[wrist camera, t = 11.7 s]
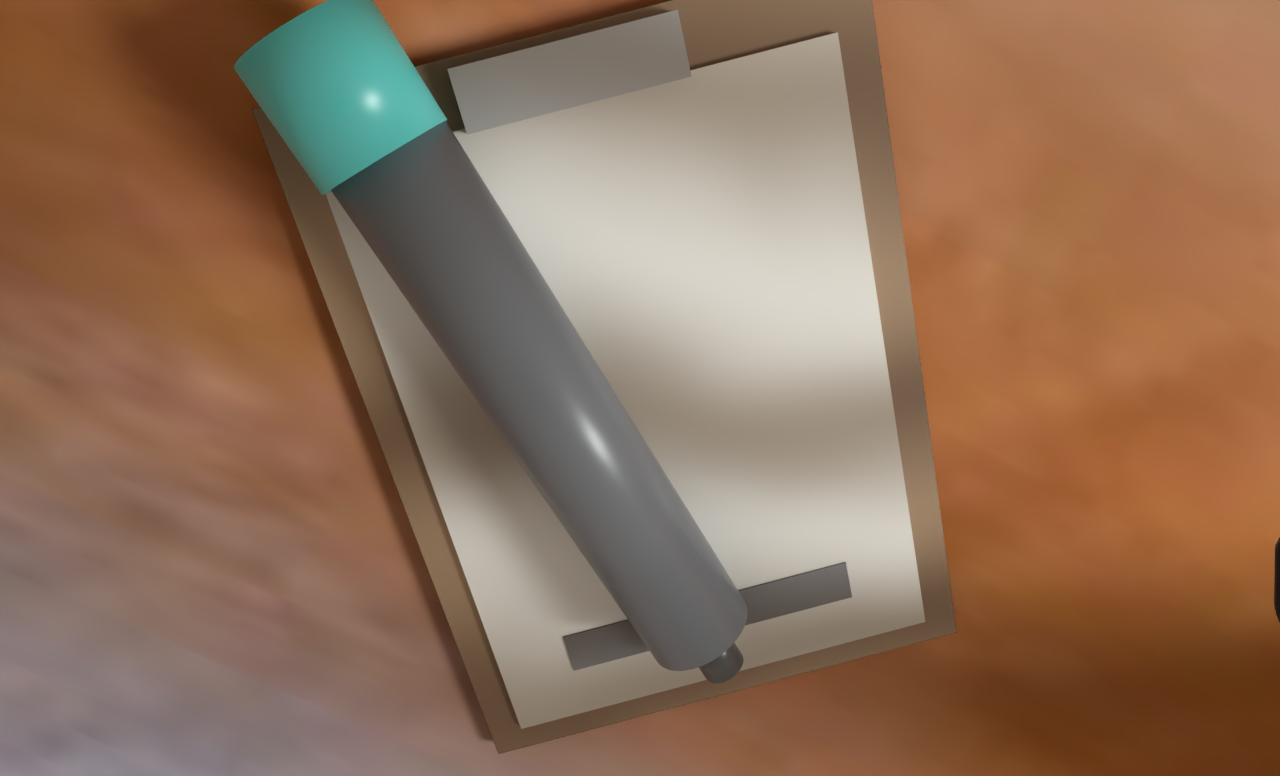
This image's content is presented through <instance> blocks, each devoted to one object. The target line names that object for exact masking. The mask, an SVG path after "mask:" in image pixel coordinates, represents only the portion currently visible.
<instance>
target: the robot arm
mask: <svg viewBox="0 0 1280 776" xmlns="http://www.w3.org/2000/svg"><path fill="white" fill-rule="evenodd" d="M1274 605H1275V610H1276V614H1277V617H1278V620H1279V622H1280V538H1279V539H1278V541H1277V543H1276V546H1275V587H1274Z"/></svg>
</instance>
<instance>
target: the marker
mask: <svg viewBox="0 0 1280 776" xmlns="http://www.w3.org/2000/svg"><path fill="white" fill-rule="evenodd" d="M234 70H235V71H236V73H237V74H238V76H239V77H240V78H241V80H242V81H243V83H244V84H245V86H246V87H247V88H248V90H249V91H250V93H251V94H252V96H253V97H254V98H255V100H256V101H257V103H258V104H259V106H260V107H261V108H262V110H263V111H264V113H265V114H266V116H267V117H268V119H269V120H270V121H271V123H272V124H273V126H274V127H275V129H276V130H277V131H278V133H279V134H280V136H281V137H282V139H283V140H284V141H285V143H286V144H287V146H288V147H289V149H290V150H291V152H292V153H293V154H294V156H295V157H296V159H297V160H298V162H299V163H300V164H301V166H302V167H303V169H304V170H305V172H306V173H307V174H308V176H309V177H310V179H311V180H312V182H313V183H314V185H315V186H316V187H317V189H318V190H319V192H320V193H321V195H324V194H326V193H328V192H330V191H332V193H333V194H334V196H335V197H336V198H337V200H338V201H339V203H340V204H341V206H342V207H343V209H344V210H345V211H346V213H347V214H348V216H349V217H350V219H351V220H352V222H353V223H354V224H355V226H356V227H357V229H358V230H359V232H360V233H361V235H362V236H363V237H364V239H365V240H366V242H367V243H368V245H369V246H370V248H371V249H372V250H373V252H374V253H375V255H376V256H377V258H378V259H379V261H380V262H381V263H382V265H383V266H384V268H385V269H386V271H387V272H388V274H389V275H390V276H391V278H392V279H393V281H394V282H395V284H396V285H397V287H398V288H399V289H400V291H401V292H402V294H403V295H404V297H405V298H406V300H407V301H408V302H409V304H410V305H411V307H412V308H413V310H414V311H415V313H416V314H417V315H418V317H419V318H420V320H421V321H422V323H423V324H424V326H425V327H426V328H427V330H428V331H429V333H430V334H431V336H432V337H433V339H434V340H435V341H436V343H437V344H438V346H439V347H440V349H441V350H442V352H443V353H444V354H445V356H446V357H447V359H448V360H449V362H450V363H451V365H452V366H453V368H454V369H455V370H456V372H457V373H458V375H459V376H460V378H461V379H462V381H463V382H464V383H465V385H466V386H467V388H468V389H469V391H470V392H471V394H472V395H473V396H474V398H475V399H476V401H477V402H478V404H479V405H480V407H481V408H482V409H483V411H484V412H485V414H486V415H487V417H488V418H489V420H490V421H491V422H492V424H493V425H494V427H495V428H496V430H497V431H498V433H499V434H500V435H501V437H502V438H503V440H504V441H505V443H506V444H507V446H508V447H509V448H510V450H511V451H512V453H513V454H514V456H515V457H516V459H517V460H518V461H519V463H520V464H521V466H522V467H523V469H524V470H525V472H526V473H527V474H528V476H529V477H530V479H531V480H532V482H533V483H534V485H535V486H536V487H537V489H538V490H539V492H540V493H541V495H542V496H543V498H544V499H545V500H546V502H547V503H548V505H549V506H550V508H551V509H552V511H553V512H554V513H555V515H556V516H557V518H558V519H559V521H560V522H561V524H562V525H563V527H564V528H565V529H566V531H567V532H568V534H569V535H570V537H571V538H572V540H573V541H574V542H575V544H576V545H577V547H578V548H579V550H580V551H581V553H582V554H583V555H584V557H585V558H586V560H587V561H588V563H589V564H590V566H591V567H592V568H593V570H594V571H595V573H596V574H597V576H598V577H599V579H600V580H601V581H602V583H603V584H604V586H605V587H606V589H607V590H608V592H609V593H610V594H611V596H612V597H613V599H614V600H615V602H616V603H617V605H618V606H619V607H620V609H621V610H622V612H623V613H624V615H625V616H626V618H627V619H628V620H629V622H630V623H631V625H632V626H633V628H634V629H635V631H636V632H637V633H638V635H639V636H640V638H641V639H642V641H643V642H644V644H645V645H646V646H647V648H648V649H649V651H650V652H651V654H652V655H653V657H654V658H655V659H656V661H657V662H658V664H659V665H661V666H662V667H663V668H665V669H668V670H672V671H686V670H691V669H695V668H698V667H699V669H700V670H701V672H702V673H703V675H704V676H705V678H706V679H707V680H708V681H709V682H711V683H723V682H725V681H728V680H730V679H731V678H733V677H734V676H735V675H736V674H737V673H738V672H739V670H740V669H741V667H742V665H743V661H744V659H743V655H742V653H741V652H740V650H739V649H738V647H737V645H736V644H735V641H736V640H737V638H738V637H739V636H740V634H741V632H742V631H743V629H744V626H745V624H746V621H747V615H748V610H747V605H746V602H745V601H744V599H743V598H742V596H741V594H740V593H739V591H738V590H737V588H736V586H735V585H734V583H733V582H732V580H731V578H730V577H729V575H728V573H727V572H726V570H725V569H724V567H723V565H722V564H721V562H720V561H719V559H718V557H717V556H716V554H715V553H714V551H713V549H712V548H711V546H710V545H709V543H708V541H707V540H706V538H705V537H704V535H703V533H702V532H701V530H700V528H699V527H698V525H697V524H696V522H695V520H694V519H693V517H692V516H691V514H690V512H689V511H688V509H687V508H686V506H685V504H684V503H683V501H682V500H681V498H680V496H679V495H678V493H677V492H676V490H675V488H674V487H673V485H672V483H671V482H670V480H669V479H668V477H667V475H666V474H665V472H664V471H663V469H662V467H661V466H660V464H659V463H658V461H657V459H656V458H655V456H654V455H653V453H652V451H651V450H650V448H649V447H648V445H647V443H646V442H645V440H644V438H643V437H642V435H641V434H640V432H639V430H638V429H637V427H636V426H635V424H634V422H633V421H632V419H631V418H630V416H629V414H628V413H627V411H626V410H625V408H624V406H623V405H622V403H621V402H620V400H619V398H618V397H617V395H616V393H615V392H614V390H613V389H612V387H611V385H610V384H609V382H608V381H607V379H606V377H605V376H604V374H603V373H602V371H601V369H600V368H599V366H598V365H597V363H596V361H595V360H594V358H593V357H592V355H591V353H590V352H589V350H588V348H587V347H586V345H585V344H584V342H583V340H582V339H581V337H580V336H579V334H578V332H577V331H576V329H575V328H574V326H573V324H572V323H571V321H570V320H569V318H568V316H567V315H566V313H565V312H564V310H563V308H562V307H561V305H560V303H559V302H558V300H557V299H556V297H555V295H554V294H553V292H552V291H551V289H550V287H549V286H548V284H547V283H546V281H545V279H544V278H543V276H542V275H541V273H540V271H539V270H538V268H537V267H536V265H535V263H534V262H533V260H532V258H531V257H530V255H529V254H528V252H527V250H526V249H525V247H524V246H523V244H522V242H521V241H520V239H519V238H518V236H517V234H516V233H515V231H514V230H513V228H512V226H511V225H510V223H509V222H508V220H507V218H506V217H505V215H504V213H503V212H502V210H501V209H500V207H499V205H498V204H497V202H496V201H495V199H494V197H493V196H492V194H491V193H490V191H489V189H488V188H487V186H486V185H485V183H484V181H483V180H482V178H481V177H480V175H479V173H478V172H477V170H476V168H475V167H474V165H473V164H472V162H471V160H470V159H469V157H468V156H467V154H466V152H465V151H464V149H463V148H462V146H461V144H460V143H459V141H458V140H457V138H456V136H455V135H454V133H453V131H452V130H451V128H450V127H449V125H448V123H447V122H446V120H447V118H446V117H445V115H444V113H443V112H442V110H441V109H440V107H439V105H438V104H437V102H436V101H435V99H434V97H433V96H432V94H431V93H430V91H429V89H428V88H427V86H426V85H425V83H424V81H423V80H422V78H421V76H420V75H419V73H418V72H417V70H416V68H415V67H414V65H413V64H412V62H411V60H410V59H409V57H408V56H407V54H406V52H405V51H404V49H403V47H402V46H401V44H400V43H399V41H398V39H397V38H396V36H395V35H394V33H393V31H392V30H391V28H390V27H389V25H388V23H387V22H386V20H385V19H384V17H383V15H382V14H381V12H380V10H379V9H378V7H377V6H376V4H375V2H374V1H373V0H328V1H326V2H324V3H322V4H320V5H318V6H316V7H314V8H312V9H310V10H308V11H306V12H304V13H302V14H301V15H299V16H297V17H295V18H294V19H292V20H290V21H288V22H287V23H285V24H283V25H282V26H280V27H279V28H277V29H276V30H274V31H273V32H271V33H270V34H268V35H267V36H265V37H264V38H263V39H261V40H260V41H258V42H257V43H256V44H255V45H253V46H252V47H251V48H250V49H248V50H247V51H246V52H245V53H244V54H243V55H242V56H241V57H240V58H239V59H238V60H237V61H236V63H235V65H234Z"/></svg>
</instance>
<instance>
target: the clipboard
mask: <svg viewBox="0 0 1280 776" xmlns="http://www.w3.org/2000/svg"><path fill="white" fill-rule="evenodd" d="M415 68H416V70H417V72H418V73H419V75H420V76H421V78H422V80H423V81H424V83H425V85H426V86H427V88H428V89H429V91H430V93H431V94H432V96H433V97H434V99H435V101H436V102H437V104H438V105H439V107H440V109H441V110H442V112H443V113H444V115H445V117H446V118H447V120H446V122H447V123H448V125H449V127H450V128H451V130H452V131H453V133H454V135H455V136H456V138H457V140H458V141H459V143H460V144H461V146H462V148H463V149H464V151H465V152H466V154H467V156H468V157H469V159H470V160H471V162H472V164H473V165H474V167H475V168H476V170H477V172H478V173H479V175H480V177H481V178H482V180H483V181H484V183H485V185H486V186H487V188H488V189H489V191H490V193H491V194H492V196H493V197H494V199H495V201H496V202H497V204H498V205H499V207H500V209H501V210H502V212H503V213H504V215H505V217H506V218H507V220H508V222H509V223H510V225H511V226H512V228H513V230H514V231H515V233H516V234H517V236H518V238H519V239H520V241H521V242H522V244H523V246H524V247H525V249H526V250H527V252H528V254H529V255H530V257H531V258H532V260H533V262H534V263H535V265H536V267H537V268H538V270H539V271H540V273H541V275H542V276H543V278H544V279H545V281H546V283H547V284H548V286H549V287H550V289H551V291H552V292H553V294H554V295H555V297H556V299H557V300H558V302H559V303H560V305H561V307H562V308H563V310H564V312H565V313H566V315H567V316H568V318H569V320H570V321H571V323H572V324H573V326H574V328H575V329H576V331H577V332H578V334H579V336H580V337H581V339H582V340H583V342H584V344H585V345H586V347H587V348H588V350H589V352H590V353H591V355H592V357H593V358H594V360H595V361H596V363H597V365H598V366H599V368H600V369H601V371H602V373H603V374H604V376H605V377H606V379H607V381H608V382H609V384H610V385H611V387H612V389H613V390H614V392H615V393H616V395H617V397H618V398H619V400H620V402H621V403H622V405H623V406H624V408H625V410H626V411H627V413H628V414H629V416H630V418H631V419H632V421H633V422H634V424H635V426H636V427H637V429H638V430H639V432H640V434H641V435H642V437H643V438H644V440H645V442H646V443H647V445H648V447H649V448H650V450H651V451H652V453H653V455H654V456H655V458H656V459H657V461H658V463H659V464H660V466H661V467H662V469H663V471H664V472H665V474H666V475H667V477H668V479H669V480H670V482H671V483H672V485H673V487H674V488H675V490H676V492H677V493H678V495H679V496H680V498H681V500H682V501H683V503H684V504H685V506H686V508H687V509H688V511H689V512H690V514H691V516H692V517H693V519H694V520H695V522H696V524H697V525H698V527H699V528H700V530H701V532H702V533H703V535H704V537H705V538H706V540H707V541H708V543H709V545H710V546H711V548H712V549H713V551H714V553H715V554H716V556H717V557H718V559H719V561H720V562H721V564H722V565H723V567H724V569H725V570H726V572H727V573H728V575H729V577H730V578H731V580H732V582H733V583H734V585H735V586H736V588H737V590H738V591H739V593H740V594H741V596H742V598H743V599H744V601H745V602H746V605H747V610H748V615H747V621H746V624H745V626H744V629H743V631H742V632H741V634H740V636H739V637H738V638H737V640H736V641H735V644H736V645H737V647H738V649H739V650H740V652H741V653H742V655H743V659H744V661H743V665H742V667H741V669H740V670H739V672H738V673H737V674H736V675H735V676H734V677H733V678H731V679H730V680H728V681H725V682H723V683H711V682H709V681H708V680H707V679H706V678H705V676H704V675H703V673H702V672H701V670H700V669H699V667H698V668H695V669H691V670H686V671H672V670H668V669H665V668H663V667H662V666H661V665H659V664H658V662H657V661H656V659H655V658H654V657H653V655H652V654H651V652H650V651H649V649H648V648H647V646H646V645H645V644H644V642H643V641H642V639H641V638H640V636H639V635H638V633H637V632H636V631H635V629H634V628H633V626H632V625H631V623H630V622H629V620H628V619H627V618H626V616H625V615H624V613H623V612H622V610H621V609H620V607H619V606H618V605H617V603H616V602H615V600H614V599H613V597H612V596H611V594H610V593H609V592H608V590H607V589H606V587H605V586H604V584H603V583H602V581H601V580H600V579H599V577H598V576H597V574H596V573H595V571H594V570H593V568H592V567H591V566H590V564H589V563H588V561H587V560H586V558H585V557H584V555H583V554H582V553H581V551H580V550H579V548H578V547H577V545H576V544H575V542H574V541H573V540H572V538H571V537H570V535H569V534H568V532H567V531H566V529H565V528H564V527H563V525H562V524H561V522H560V521H559V519H558V518H557V516H556V515H555V513H554V512H553V511H552V509H551V508H550V506H549V505H548V503H547V502H546V500H545V499H544V498H543V496H542V495H541V493H540V492H539V490H538V489H537V487H536V486H535V485H534V483H533V482H532V480H531V479H530V477H529V476H528V474H527V473H526V472H525V470H524V469H523V467H522V466H521V464H520V463H519V461H518V460H517V459H516V457H515V456H514V454H513V453H512V451H511V450H510V448H509V447H508V446H507V444H506V443H505V441H504V440H503V438H502V437H501V435H500V434H499V433H498V431H497V430H496V428H495V427H494V425H493V424H492V422H491V421H490V420H489V418H488V417H487V415H486V414H485V412H484V411H483V409H482V408H481V407H480V405H479V404H478V402H477V401H476V399H475V398H474V396H473V395H472V394H471V392H470V391H469V389H468V388H467V386H466V385H465V383H464V382H463V381H462V379H461V378H460V376H459V375H458V373H457V372H456V370H455V369H454V368H453V366H452V365H451V363H450V362H449V360H448V359H447V357H446V356H445V354H444V353H443V352H442V350H441V349H440V347H439V346H438V344H437V343H436V341H435V340H434V339H433V337H432V336H431V334H430V333H429V331H428V330H427V328H426V327H425V326H424V324H423V323H422V321H421V320H420V318H419V317H418V315H417V314H416V313H415V311H414V310H413V308H412V307H411V305H410V304H409V302H408V301H407V300H406V298H405V297H404V295H403V294H402V292H401V291H400V289H399V288H398V287H397V285H396V284H395V282H394V281H393V279H392V278H391V276H390V275H389V274H388V272H387V271H386V269H385V268H384V266H383V265H382V263H381V262H380V261H379V259H378V258H377V256H376V255H375V253H374V252H373V250H372V249H371V248H370V246H369V245H368V243H367V242H366V240H365V239H364V237H363V236H362V235H361V233H360V232H359V230H358V229H357V227H356V226H355V224H354V223H353V222H352V220H351V219H350V217H349V216H348V214H347V213H346V211H345V210H344V209H343V207H342V206H341V204H340V203H339V201H338V200H337V198H336V197H335V196H334V194H333V193H332V191H330V192H328V193H326V194H324V195H321V193H320V192H319V190H318V189H317V187H316V186H315V185H314V183H313V182H312V180H311V179H310V177H309V176H308V174H307V173H306V172H305V170H304V169H303V167H302V166H301V164H300V163H299V162H298V160H297V159H296V157H295V156H294V154H293V153H292V152H291V150H290V149H289V147H288V146H287V144H286V143H285V141H284V140H283V139H282V137H281V136H280V134H279V133H278V131H277V130H276V129H275V127H274V126H273V124H272V123H271V121H270V120H269V119H268V117H267V116H266V114H265V113H264V111H263V110H262V108H261V107H257V108H253V109H252V110H253V113H254V116H255V118H256V121H257V123H258V126H259V129H260V131H261V134H262V136H263V139H264V142H265V144H266V147H267V150H268V152H269V155H270V157H271V160H272V163H273V165H274V168H275V170H276V173H277V176H278V178H279V181H280V184H281V186H282V189H283V191H284V194H285V197H286V199H287V202H288V205H289V207H290V210H291V212H292V215H293V218H294V220H295V223H296V225H297V228H298V231H299V233H300V236H301V239H302V241H303V244H304V246H305V249H306V252H307V254H308V257H309V259H310V262H311V265H312V267H313V270H314V273H315V275H316V278H317V280H318V283H319V286H320V288H321V291H322V293H323V296H324V299H325V301H326V304H327V307H328V309H329V312H330V314H331V317H332V320H333V322H334V325H335V327H336V330H337V333H338V335H339V338H340V341H341V343H342V346H343V348H344V351H345V354H346V356H347V359H348V362H349V364H350V367H351V369H352V372H353V375H354V377H355V380H356V382H357V385H358V388H359V390H360V393H361V396H362V398H363V401H364V403H365V406H366V409H367V411H368V414H369V416H370V419H371V422H372V424H373V427H374V430H375V432H376V435H377V437H378V440H379V443H380V445H381V448H382V450H383V453H384V456H385V458H386V461H387V464H388V466H389V469H390V471H391V474H392V477H393V479H394V482H395V484H396V487H397V490H398V492H399V495H400V498H401V500H402V503H403V505H404V508H405V511H406V513H407V516H408V519H409V521H410V524H411V526H412V529H413V532H414V534H415V537H416V539H417V542H418V545H419V547H420V550H421V553H422V555H423V558H424V560H425V563H426V566H427V568H428V571H429V573H430V576H431V579H432V581H433V584H434V587H435V589H436V592H437V594H438V597H439V600H440V602H441V605H442V607H443V610H444V613H445V615H446V618H447V621H448V623H449V626H450V628H451V631H452V634H453V636H454V639H455V641H456V644H457V647H458V649H459V652H460V655H461V657H462V660H463V662H464V665H465V668H466V670H467V673H468V676H469V678H470V681H471V683H472V686H473V689H474V691H475V694H476V696H477V699H478V702H479V704H480V707H481V710H482V712H483V715H484V717H485V720H486V723H487V725H488V728H489V730H490V733H491V736H492V738H493V741H494V744H495V746H496V749H497V751H498V754H501V753H505V752H508V751H512V750H516V749H520V748H523V747H527V746H531V745H535V744H539V743H542V742H546V741H550V740H554V739H557V738H561V737H565V736H569V735H572V734H576V733H580V732H584V731H588V730H591V729H595V728H599V727H603V726H606V725H610V724H614V723H618V722H621V721H625V720H629V719H633V718H637V717H640V716H644V715H648V714H652V713H655V712H659V711H663V710H667V709H670V708H674V707H678V706H682V705H686V704H689V703H693V702H697V701H701V700H704V699H708V698H712V697H716V696H719V695H723V694H727V693H731V692H735V691H738V690H742V689H746V688H750V687H753V686H757V685H761V684H765V683H768V682H772V681H776V680H780V679H784V678H787V677H791V676H795V675H799V674H802V673H806V672H810V671H814V670H818V669H821V668H825V667H829V666H833V665H836V664H840V663H844V662H848V661H851V660H855V659H859V658H863V657H867V656H870V655H874V654H878V653H882V652H885V651H889V650H893V649H897V648H900V647H904V646H908V645H912V644H916V643H919V642H923V641H927V640H931V639H934V638H938V637H942V636H946V635H949V634H953V633H957V632H956V624H955V617H954V610H953V602H952V595H951V587H950V580H949V572H948V565H947V557H946V550H945V542H944V535H943V527H942V520H941V512H940V505H939V498H938V490H937V483H936V475H935V468H934V460H933V453H932V445H931V438H930V430H929V423H928V415H927V408H926V400H925V393H924V386H923V378H922V371H921V363H920V356H919V348H918V341H917V333H916V326H915V318H914V311H913V303H912V296H911V288H910V281H909V274H908V266H907V259H906V251H905V244H904V236H903V229H902V221H901V214H900V206H899V199H898V191H897V184H896V176H895V169H894V162H893V154H892V147H891V139H890V132H889V124H888V117H887V109H886V102H885V94H884V87H883V79H882V72H881V64H880V57H879V49H878V42H877V35H876V27H875V20H874V12H873V5H872V0H671V1H667V2H663V3H659V4H656V5H652V6H648V7H644V8H640V9H636V10H632V11H628V12H625V13H621V14H617V15H613V16H609V17H605V18H601V19H597V20H594V21H590V22H586V23H582V24H578V25H574V26H570V27H567V28H563V29H559V30H555V31H551V32H547V33H543V34H539V35H536V36H532V37H528V38H524V39H520V40H516V41H512V42H508V43H505V44H501V45H497V46H493V47H489V48H485V49H481V50H477V51H474V52H470V53H466V54H462V55H458V56H454V57H450V58H446V59H443V60H439V61H435V62H431V63H427V64H423V65H419V66H415Z"/></svg>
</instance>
